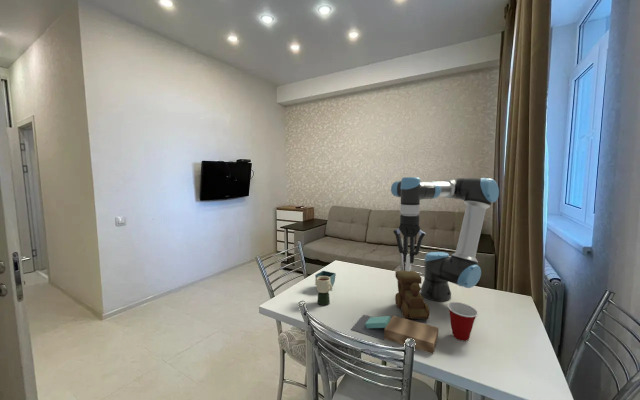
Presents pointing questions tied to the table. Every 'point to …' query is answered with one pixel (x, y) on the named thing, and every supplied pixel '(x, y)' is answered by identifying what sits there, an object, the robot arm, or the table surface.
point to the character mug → (323, 289)
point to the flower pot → (326, 273)
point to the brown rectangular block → (412, 333)
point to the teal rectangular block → (377, 322)
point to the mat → (372, 332)
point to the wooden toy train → (410, 296)
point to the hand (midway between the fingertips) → (408, 270)
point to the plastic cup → (461, 319)
